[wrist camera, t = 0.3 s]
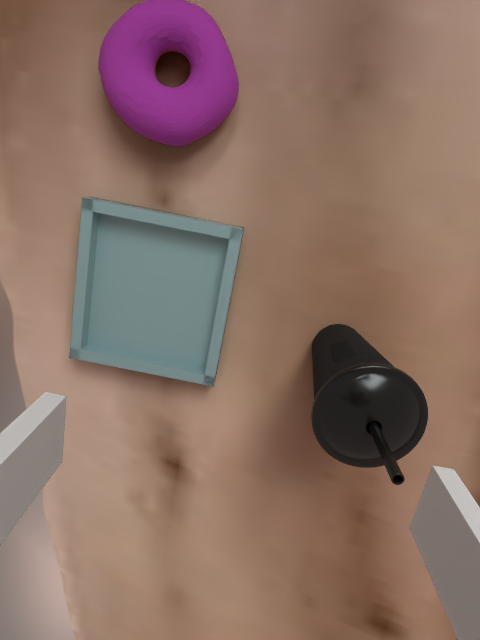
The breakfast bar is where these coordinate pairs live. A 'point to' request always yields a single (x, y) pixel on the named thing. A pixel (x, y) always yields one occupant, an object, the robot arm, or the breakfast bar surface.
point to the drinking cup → (363, 403)
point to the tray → (152, 290)
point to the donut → (140, 78)
